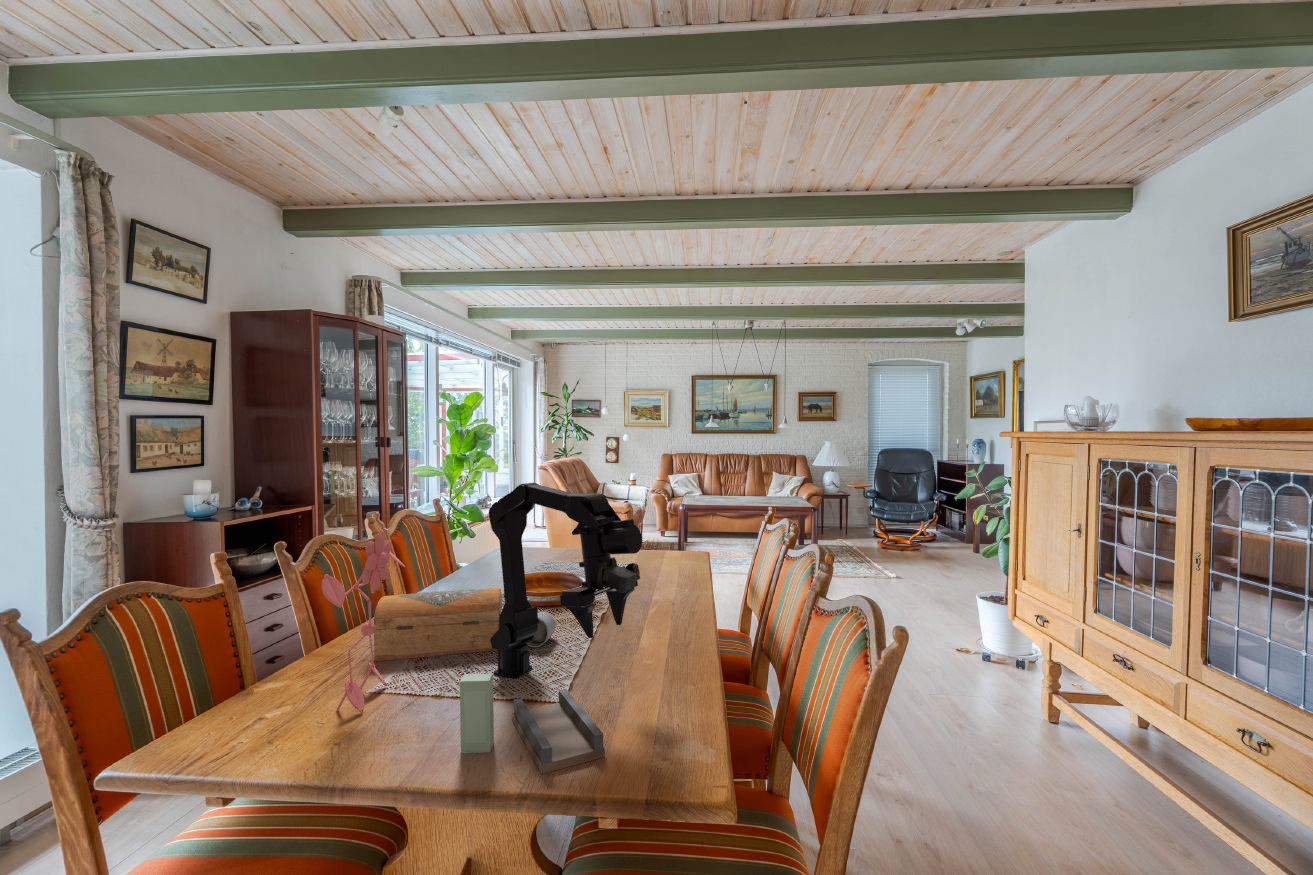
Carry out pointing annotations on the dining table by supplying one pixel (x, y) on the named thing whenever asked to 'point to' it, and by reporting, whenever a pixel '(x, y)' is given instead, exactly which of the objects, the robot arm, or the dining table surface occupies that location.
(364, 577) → the pink leafy branch
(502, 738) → the dining table surface
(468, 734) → the sage green panelled box
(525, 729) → the door track
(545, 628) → the ceramic mug
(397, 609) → the wooden box
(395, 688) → the dining table surface
